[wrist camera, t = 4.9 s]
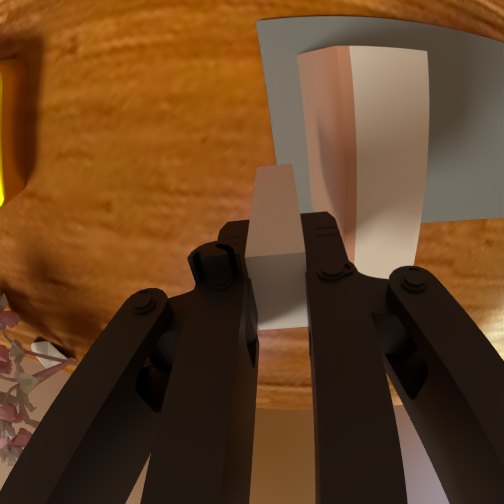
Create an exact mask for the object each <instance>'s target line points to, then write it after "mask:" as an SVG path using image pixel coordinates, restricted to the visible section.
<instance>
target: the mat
mask: <svg viewBox="0 0 504 504" xmlns="http://www.w3.org/2000/svg"><path fill="white" fill-rule="evenodd" d="M256 26H257V32H258V38H259V44H260V50H261V56H262V63H263V69H264V76H265V82H266V89H267V96H268V103H269V110H270V117H271V125H272V132H273V140H274V147H275V155H276V163H277V165H283V164H292V168H293V173H294V179H295V185H296V192H297V198H298V204H299V211H300V214H301V213H312V212H314V210H313V206H312V202H311V190H310V176H309V163H308V151H307V140H306V130H305V120H304V110H303V101H302V92H301V84H300V76H299V68H298V61H297V55H298V54H302V53H306V52H310V51H315V50H319V49H323V48H328V47H333V46H374V47H391V48H403V49H413V50H421V51H427V58H428V74H429V142H428V159H427V172H426V183H425V193H424V201H423V209H422V217H421V223H429V222H443V221H457V220H472V219H487V218H504V43H503V42H500V41H497V40H493V39H490V38H487V37H483V36H480V35H476V34H472V33H468V32H464V31H460V30H456V29H451V28H446V27H441V26H436V25H430V24H424V23H418V22H411V21H403V20H395V19H385V18H372V17H351V16H314V17H293V18H280V19H270V20H261V21H256Z"/></svg>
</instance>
